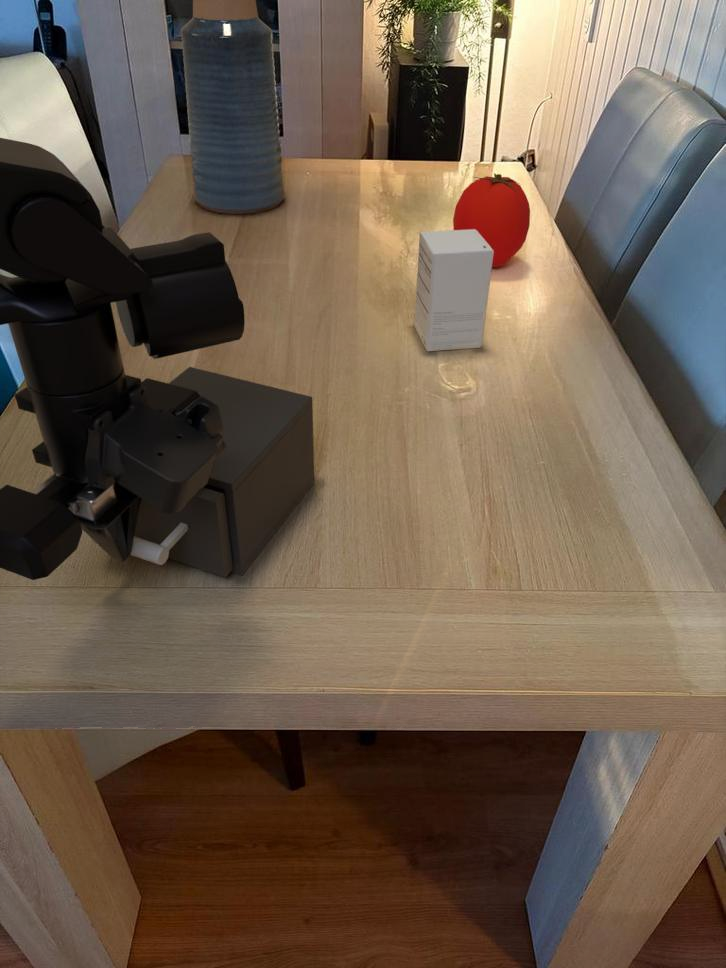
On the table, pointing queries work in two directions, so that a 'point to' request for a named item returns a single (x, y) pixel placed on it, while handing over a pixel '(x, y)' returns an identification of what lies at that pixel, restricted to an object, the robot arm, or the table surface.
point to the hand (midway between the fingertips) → (121, 557)
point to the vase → (232, 108)
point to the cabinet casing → (257, 456)
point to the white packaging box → (452, 289)
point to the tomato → (495, 215)
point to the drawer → (187, 533)
